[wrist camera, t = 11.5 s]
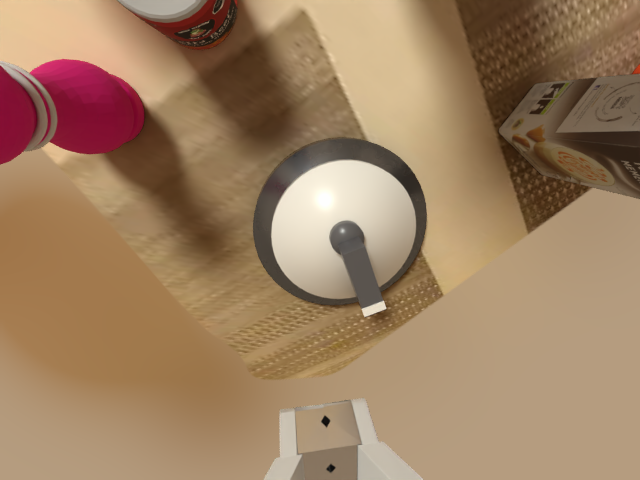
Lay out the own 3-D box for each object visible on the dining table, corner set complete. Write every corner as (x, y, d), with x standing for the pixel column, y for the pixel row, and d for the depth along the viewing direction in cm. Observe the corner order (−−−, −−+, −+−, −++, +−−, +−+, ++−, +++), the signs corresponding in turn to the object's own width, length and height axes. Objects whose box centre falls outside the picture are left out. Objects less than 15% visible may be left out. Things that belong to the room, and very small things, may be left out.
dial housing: (258, 126, 32) (256, 128, 30) (437, 147, 36) (448, 150, 33) (251, 294, 40) (249, 305, 37) (400, 298, 43) (407, 309, 40)
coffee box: (494, 132, 36) (647, 147, 21) (535, 81, 34) (731, 58, 19) (542, 177, 39) (705, 217, 24) (581, 131, 37) (783, 145, 22)
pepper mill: (166, 126, 31) (9, 147, 13) (105, 161, 32) (-129, 229, 13) (115, 51, 28) (-179, -59, 10) (49, 91, 29) (-346, 54, 11)
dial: (247, 192, 33) (241, 207, 27) (391, 136, 32) (413, 140, 27) (302, 310, 39) (306, 340, 34) (423, 264, 39) (446, 287, 33)
